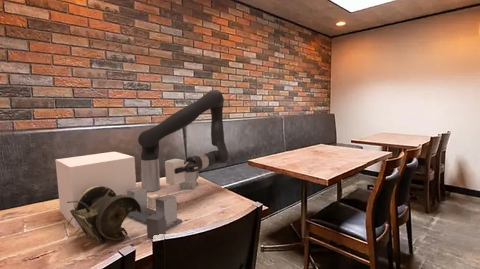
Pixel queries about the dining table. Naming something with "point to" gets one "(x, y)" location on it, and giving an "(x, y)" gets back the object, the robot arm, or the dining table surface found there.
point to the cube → (93, 177)
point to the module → (170, 173)
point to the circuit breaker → (189, 181)
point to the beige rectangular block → (152, 200)
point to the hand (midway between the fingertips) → (170, 170)
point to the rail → (163, 207)
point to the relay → (155, 225)
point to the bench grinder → (102, 213)
